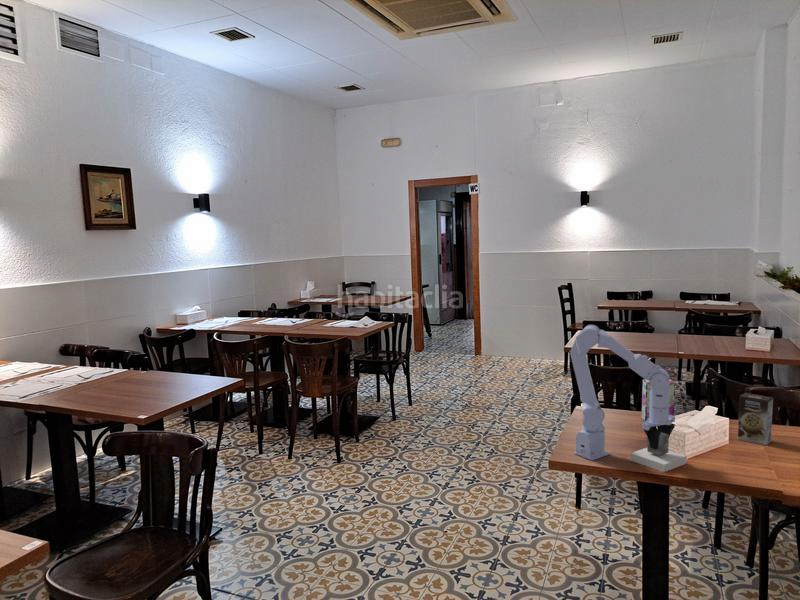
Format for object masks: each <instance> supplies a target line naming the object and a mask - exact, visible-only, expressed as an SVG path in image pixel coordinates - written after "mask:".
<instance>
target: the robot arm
mask: <svg viewBox="0 0 800 600" xmlns="http://www.w3.org/2000/svg"><path fill="white" fill-rule="evenodd" d="M596 345H597V348H600V349H601V348H603V349H605V348H606V349H609V350H610V351H611V352H613V353H614V354H616V355H617V356H619V357H621V358H622V359H623V360H624V361H625V362H627V363H628V368H629V369H631V370H632V371H633V372H635V373H636V374H637V375H638V376H640V377H641V378H643V380H649V383H650V385H651V391H650V408H649V419H648V420H647V421H646V422H645V421H643V422H642V425H641V426H642V427H641V428H642V430H643V431H644V433H645V435H646V437H647V441H648V440H649V444H650V448H652V449H655V450H656V449H657V448H658V442H659V437H660V434H661V433H665V434H668V435H669V438H670V437H671V434H672V432H673V431H674V429H675V424H673V423H675V422H676V416H675V415H674V416H673V415H669V392H668V391H669V387H668V386H669V384H670V381H669V380H670V375H669V372H668V371H667V370H666V368H663V367H661V366H660V365H659V364H658V365H656V364H655V363H654V362H652V361H651V360H650V359H648V358H649V357H648V356H647V355H646V354H644V355H643V354H641V353H634V352H632V351H631V350H630V349H628V347H626V346H624V344H623V343H620V342H619V341H618V340H617V339H615V337H613V336H612V335H610V334H609V333H608V332H607V331H605V330H604V329H600V328H599V327H598V326H597V325H595V324H588V325H586V326H585V327H584V328H582V330H581V331H580V332H579V333H578V334H577V335H576V336H575V339H574V342H573V345H572V346H571V349H570V358H571V361H572V366H573V371H574V374H575V375H574V376H575V379H576V383H577V387H578V391H579V393H580V394H579V395H580V399H581V402H582V403H581V404H582V407H581V409H582V414H583V416H582V418H581V419H582V421H581V423H582V427H581V430H580V431H578V432H577V434H576V435H575V451H574V452H573V454H575V455H578V456H580V457H582V458H585V459H587V460H590V461H594V460H598V459H601V458H604V457H607V456H609V455H611V452H610V451H606V450H605V448H606V444H605V442H606V441H605V440H606V436H605V435H606V434H605V433H606V430H605V429H606V428H605V426H604V425H603V421H604V419H605V418H606V417H605V416H606V414H605V412H604V410H603V409H602V408H601V405H600V403H599V400H598V399H597V395H596V390H595V387H594V386H595V385H594V384H593V379H592V376H591V371H590V367H589V362H588V359H587V354H588V352H589V351H590V350H591V349H592V348H594V347H595V346H596Z"/></svg>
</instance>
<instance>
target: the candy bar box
mask: <svg viewBox="0 0 800 600" xmlns="http://www.w3.org/2000/svg"><path fill="white" fill-rule="evenodd" d="M669 381H670V384H669V386H668V387H669V391H668V392H669V415H674V416H675V401H676V399H675V396H676V394H675V393H676V381H673V380H672V379H669ZM650 391H651V385H650V383H649V380H645V379H642V391H641V393H642V394H641V396H642V397H641V420H643V422H646V421H647V420H648V419H649V408H650Z"/></svg>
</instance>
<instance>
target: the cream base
mask: <svg viewBox="0 0 800 600" xmlns="http://www.w3.org/2000/svg"><path fill="white" fill-rule="evenodd" d="M687 458H688V456H687V455H685V454H681V453H679V452H676V451H672V450H670V449H668V453H666V454H663V455H657V454H654V453H650V452H647V447H644V448H641V449H639V450H635V451H633V452H631V453H630V461H631V462H634V463H637V464H640V465H643V466H646V467H649V468H650V469H653V470H656V471H659V472H661V473H666V472H668V470H669V471H672V470H674V469H675V468H679V467H681V466H684V465H686V464H687V460H688V459H687ZM665 471H666V472H665Z"/></svg>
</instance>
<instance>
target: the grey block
mask: <svg viewBox="0 0 800 600" xmlns="http://www.w3.org/2000/svg"><path fill="white" fill-rule="evenodd" d="M669 440H670V437H669V435H668V434H665V433H661V434H660V437H659V442H658V448H657V449H656V450H655V449H652V448H650V444H649V440H648V439H647V447H646V448H647V452H650V453H654V454H657V455H663V454H666V453H668V450H669V444H670V443H669V442H670V441H669Z"/></svg>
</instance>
